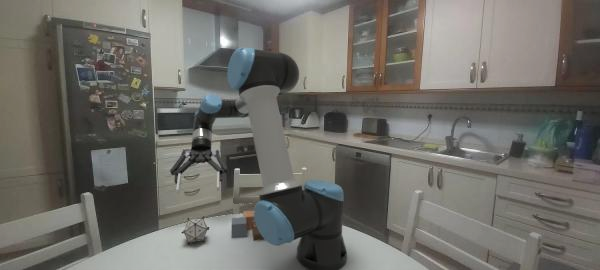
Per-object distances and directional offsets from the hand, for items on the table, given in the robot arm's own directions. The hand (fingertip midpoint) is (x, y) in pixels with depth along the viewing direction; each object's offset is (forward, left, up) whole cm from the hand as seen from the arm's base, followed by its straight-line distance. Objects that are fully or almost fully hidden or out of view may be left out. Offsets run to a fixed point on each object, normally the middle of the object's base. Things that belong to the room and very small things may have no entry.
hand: (198, 190), depth 95 cm
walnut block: (-11, -21, -14) cm, 28 cm away
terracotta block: (-3, -18, -14) cm, 23 cm away
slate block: (-8, -14, -14) cm, 22 cm away
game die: (-10, 0, -14) cm, 18 cm away
